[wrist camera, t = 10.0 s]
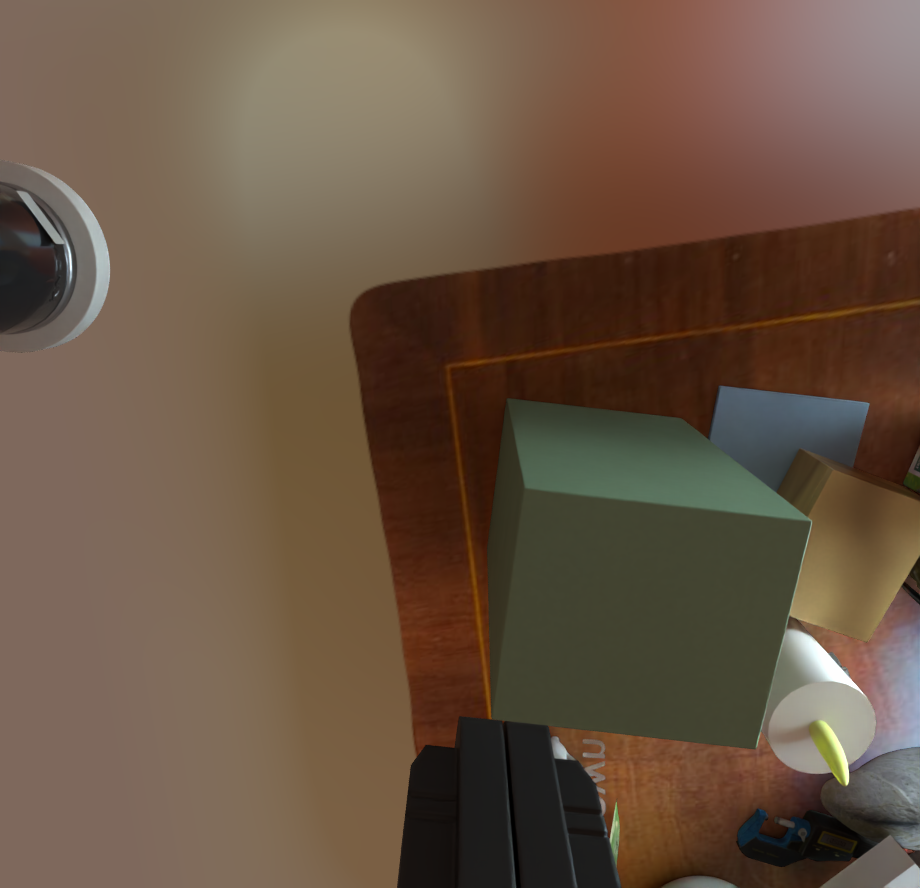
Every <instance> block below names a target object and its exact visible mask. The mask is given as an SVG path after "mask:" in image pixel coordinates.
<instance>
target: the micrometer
mask: <svg viewBox="0 0 920 888" xmlns="http://www.w3.org/2000/svg"><path fill="white" fill-rule="evenodd" d="M764 820H768V814H767V813H766V811H764V810H761V809H757V810H756V812H755V814H754V815H753V816H752V817H751V818H750V819H749V820H748V821H747V822H746V823H744V825H743V826H742V827H741V828H740V829H739V831H738V835H737V837H738V841H736V842H737V844H738V846H739V849H740V850H741V852H742V853H743V854H744V855H745V856H747V857H749V858H752V859H755V860H758V861H761V862H765V863H768V864H771V865H775V866H779V867H785V866H787V865H789V864H792V863H794V862H796V861H799V860H803V859H806V858H808V859H811V860H814V861H850V859H851V857H854V858H860V857H861V856H862V855H864V854H865V853H866V852H868V851H869V850H870V849H872V848H873V847H875V846H876V845H877V844H879V843H877V842H874V841H871V840H869V839H867V838H865V837H864V836H862V835H860V834H858V833H857V832H855V831H853V830H851V829H850V828H849V827H847V826H846V825H844V824H843V823H842V822H840V821H839V820H838V819H836V818H835V817H831V816H828V815H825V814H822V813H819V812H816V811H813V810H808V811H807V812H806V813H805V815H804V817H803V819H801V818H798V817H792V818H791V819H790V821H789V820H786V819H783V818H780V817H777V816H776V817H775V818H774V822H775V823H776V824H779V825H783V826H786V827H789V829H788V831H787V833H786V835H785V836H784V837H783V838H781V839H775V838H772V837H769V836H766V835H763V834H760V833H759V830H760V828H761V826H762V824H763V822H764Z"/></svg>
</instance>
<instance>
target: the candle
mask: <svg viewBox="0 0 920 888" xmlns="http://www.w3.org/2000/svg"><path fill="white" fill-rule="evenodd" d="M875 730H876V716H875V711H874V708H873V707H872V705H871V703H870V701H869V700H868V698H867V697H866V696H865V695H864V694H863V693H862V691H861V690H860V689H859V688H858V687H857V686H856V685H855V684H854V683H853V681H852V680H851V678H850V675H849V672H848V669H847V668H846V667H842V666H841V664H840V662H839V660H838V658H837V657H836V656H835V655H834V654H833V653H832V652H831V653H827V652H826V651H825V650H824V649H823V648H822V647H821V646H820V645H819V643H818V642H817V641H816V640H815V639H814V638H813V637H812V636H811V634H810V633H809V632H808V631H807V630H806V629H805V628H804V627H803V626H802V624H801V623H800V622H799V621H798V620H797V619H796V618H793V617H790V616H789V619H788V623H787V627H786V631H785V635H784V639H783V643H782V647H781V651H780V655H779V659H778V663H777V667H776V671H775V675H774V679H773V683H772V687H771V691H770V695H769V699H768V703H767V707H766V711H765V715H764V719H763V723H762V727H761V731H762V733H763V735H764V736H765V738H766V740H767V741H768V743H769V745H770V746H771V748H772V750H773V751H774V753H775V754H776V756H777V758H779V759H780V760H781V761H782V762H783V763H784V764H785V765H787V766H789V767H791V768H793V769H795V770H797V771H800V772H804V773H809V774H825V773H830V772H832V773H833V774H834V776H835V777H836V779H837V780H838V781H839V783H840V784H842V785H843V786H847V784H848V782H849V770H848V766H849V765H851V764H852V763H853V762H855V761H856V760H857V759H858V758H860V757H861V756H862V755H863V754H864V752H865V751H866V750H867V749H868V747H869V746H870V744H871V742H872V740H873V737H874V735H875Z"/></svg>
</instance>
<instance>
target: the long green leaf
mask: <svg viewBox="0 0 920 888" xmlns="http://www.w3.org/2000/svg"><path fill="white" fill-rule="evenodd" d="M616 804H617V800H616ZM619 831H620V824H619V817H618V809H617V805H616V806H615V812H614V818H613V823H612V829H611V835H610V843H611V847H612V851H613V855H614V859H615V863H616V866H617V856H618V847H619Z"/></svg>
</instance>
